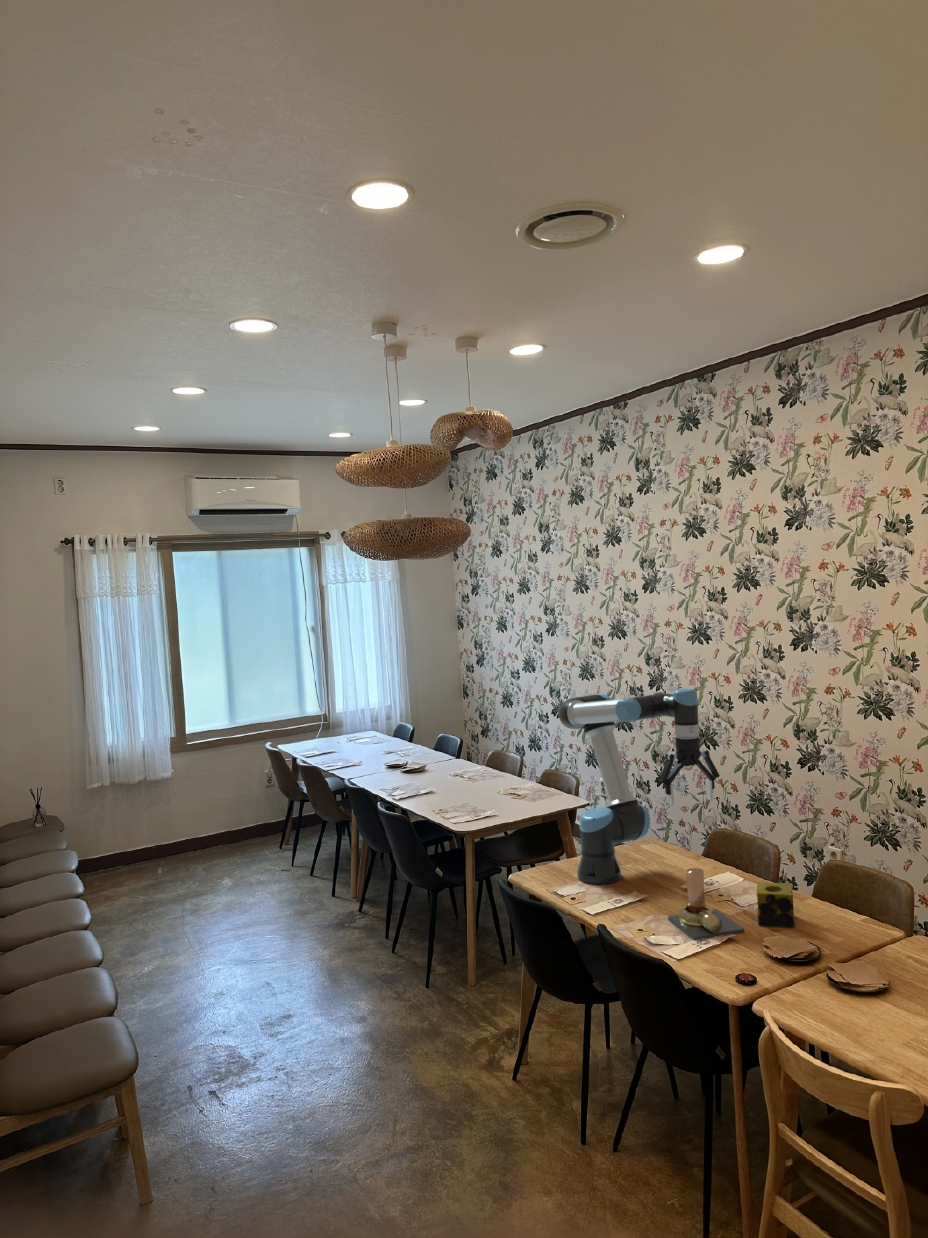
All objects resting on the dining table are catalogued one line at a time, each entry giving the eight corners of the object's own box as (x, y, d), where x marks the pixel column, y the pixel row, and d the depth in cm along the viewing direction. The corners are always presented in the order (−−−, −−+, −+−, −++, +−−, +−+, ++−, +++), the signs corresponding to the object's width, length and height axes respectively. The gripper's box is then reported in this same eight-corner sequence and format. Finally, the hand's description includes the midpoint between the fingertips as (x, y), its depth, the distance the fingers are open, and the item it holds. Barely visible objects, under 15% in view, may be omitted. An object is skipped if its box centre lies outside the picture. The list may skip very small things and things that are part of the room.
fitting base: (667, 919, 257) (666, 901, 257) (715, 911, 261) (714, 894, 260) (693, 940, 241) (692, 921, 241) (744, 932, 245) (743, 913, 244)
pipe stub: (685, 915, 255) (683, 869, 255) (700, 913, 256) (698, 867, 256) (693, 921, 250) (691, 874, 250) (709, 919, 251) (706, 872, 251)
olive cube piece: (793, 916, 254) (792, 883, 254) (795, 929, 245) (793, 895, 245) (758, 913, 258) (756, 881, 257) (758, 926, 248) (756, 892, 248)
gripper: (656, 742, 267) (660, 809, 268) (728, 735, 272) (731, 800, 273) (646, 738, 274) (649, 803, 275) (716, 731, 280) (719, 795, 280)
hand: (690, 802), depth 274 cm, fingers open, 13 cm apart
